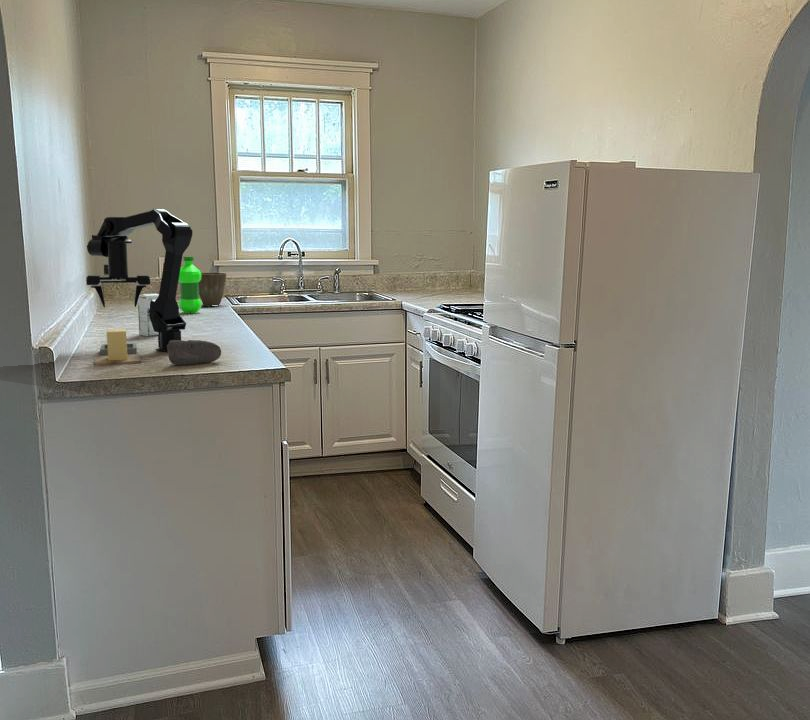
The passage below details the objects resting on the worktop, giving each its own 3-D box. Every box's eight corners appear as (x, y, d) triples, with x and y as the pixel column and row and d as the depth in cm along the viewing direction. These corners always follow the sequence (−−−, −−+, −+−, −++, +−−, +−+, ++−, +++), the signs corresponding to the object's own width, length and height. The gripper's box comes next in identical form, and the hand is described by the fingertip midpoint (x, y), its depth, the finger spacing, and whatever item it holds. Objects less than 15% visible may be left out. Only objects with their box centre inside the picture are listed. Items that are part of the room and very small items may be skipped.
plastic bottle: (198, 311, 338) (196, 256, 333) (205, 313, 329) (203, 257, 324) (176, 312, 332) (173, 256, 328) (182, 314, 324) (180, 257, 319)
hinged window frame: (136, 344, 239) (136, 338, 238) (136, 354, 220) (136, 348, 219) (103, 345, 235) (102, 339, 235) (100, 356, 216) (100, 349, 216)
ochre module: (127, 356, 213) (125, 329, 211) (127, 359, 208) (125, 331, 207) (108, 357, 211) (107, 329, 210) (108, 360, 206) (106, 332, 205)
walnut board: (140, 356, 217) (140, 354, 217) (140, 363, 206) (140, 360, 206) (96, 358, 213) (96, 356, 213) (94, 365, 202) (94, 363, 202)
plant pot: (197, 304, 366) (196, 272, 364) (228, 304, 369) (227, 272, 366) (194, 307, 352) (193, 274, 349) (226, 307, 355) (225, 274, 352)
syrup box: (153, 333, 265) (151, 293, 262) (162, 335, 261) (161, 294, 258) (139, 335, 260) (136, 294, 258) (148, 336, 257) (146, 295, 254)
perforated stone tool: (220, 360, 212) (219, 336, 210) (223, 363, 207) (222, 339, 206) (165, 364, 206) (164, 339, 204) (167, 367, 201) (166, 342, 200)
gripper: (147, 256, 243) (149, 304, 246) (86, 256, 236) (88, 304, 239) (149, 258, 233) (151, 307, 236) (85, 258, 226) (87, 308, 229)
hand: (119, 307), depth 235 cm, fingers open, 9 cm apart
